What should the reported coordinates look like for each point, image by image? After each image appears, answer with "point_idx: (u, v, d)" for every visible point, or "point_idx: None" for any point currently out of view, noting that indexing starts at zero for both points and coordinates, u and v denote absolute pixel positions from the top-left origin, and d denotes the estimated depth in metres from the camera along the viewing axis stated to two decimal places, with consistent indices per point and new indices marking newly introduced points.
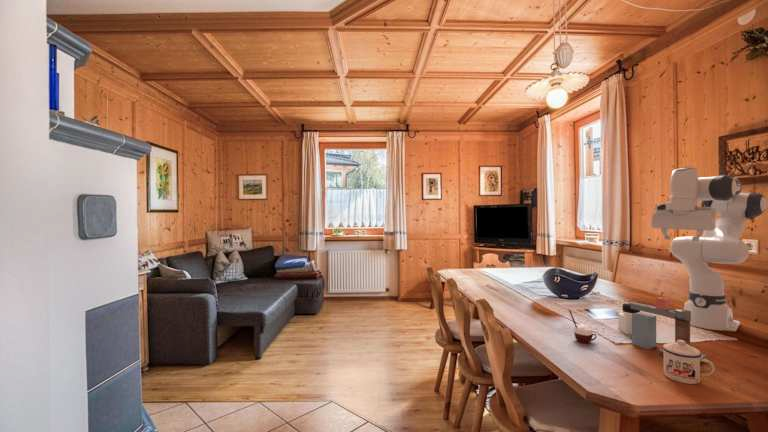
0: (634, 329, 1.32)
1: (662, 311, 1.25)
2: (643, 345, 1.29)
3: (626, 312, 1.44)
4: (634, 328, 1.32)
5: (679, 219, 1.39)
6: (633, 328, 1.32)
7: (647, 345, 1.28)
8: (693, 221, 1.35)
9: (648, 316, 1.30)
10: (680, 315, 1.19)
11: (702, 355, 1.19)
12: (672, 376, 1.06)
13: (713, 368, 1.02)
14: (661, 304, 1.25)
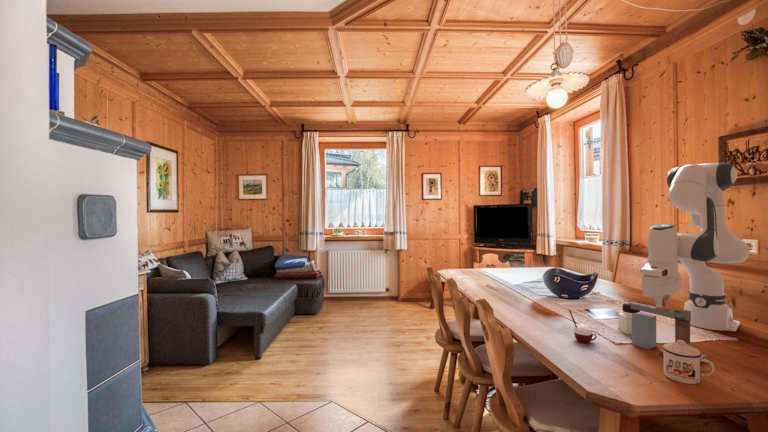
0: (634, 329, 1.32)
1: (662, 311, 1.25)
2: (643, 345, 1.29)
3: (626, 312, 1.44)
4: (634, 328, 1.32)
5: (667, 284, 1.24)
6: (633, 328, 1.32)
7: (647, 345, 1.28)
8: (674, 284, 1.26)
9: (648, 316, 1.30)
10: (680, 315, 1.19)
11: (702, 355, 1.19)
12: (672, 376, 1.06)
13: (713, 368, 1.02)
14: None
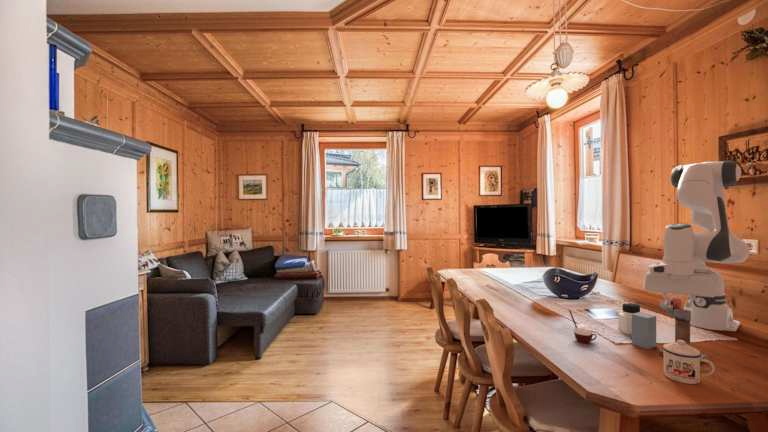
0: (634, 329, 1.32)
1: (670, 310, 1.26)
2: (643, 345, 1.29)
3: (626, 312, 1.44)
4: (634, 328, 1.32)
5: (678, 283, 1.24)
6: (633, 328, 1.32)
7: (647, 345, 1.28)
8: (695, 286, 1.22)
9: (648, 316, 1.30)
10: (675, 314, 1.21)
11: (702, 355, 1.19)
12: (672, 376, 1.06)
13: (713, 368, 1.02)
14: (671, 303, 1.26)
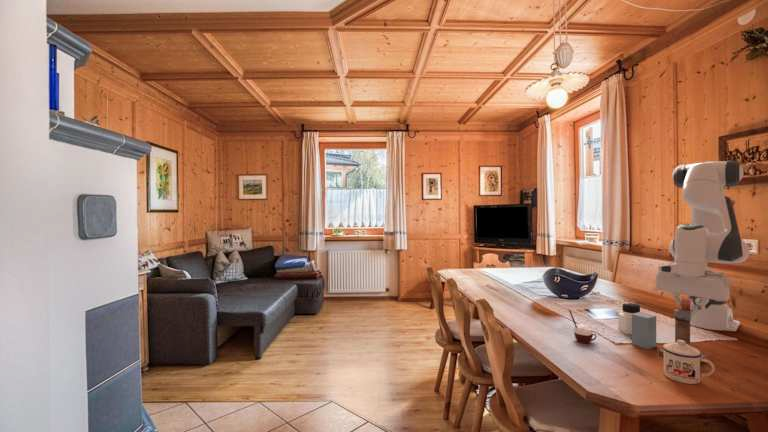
0: (634, 329, 1.32)
1: None
2: (643, 345, 1.29)
3: (626, 312, 1.44)
4: (634, 328, 1.32)
5: (687, 284, 1.23)
6: (633, 328, 1.32)
7: (647, 345, 1.28)
8: (703, 289, 1.19)
9: (648, 316, 1.30)
10: (674, 313, 1.22)
11: (702, 355, 1.19)
12: (672, 376, 1.06)
13: (713, 368, 1.02)
14: None
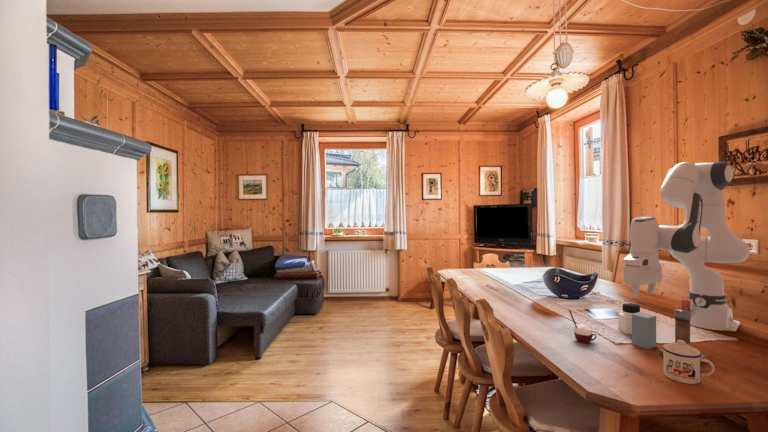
0: (634, 329, 1.32)
1: None
2: (643, 345, 1.29)
3: (626, 312, 1.44)
4: (634, 328, 1.32)
5: (648, 273, 1.29)
6: (633, 328, 1.32)
7: (647, 345, 1.28)
8: (655, 274, 1.31)
9: (648, 316, 1.30)
10: (674, 313, 1.22)
11: (702, 355, 1.19)
12: (672, 376, 1.06)
13: (713, 368, 1.02)
14: None
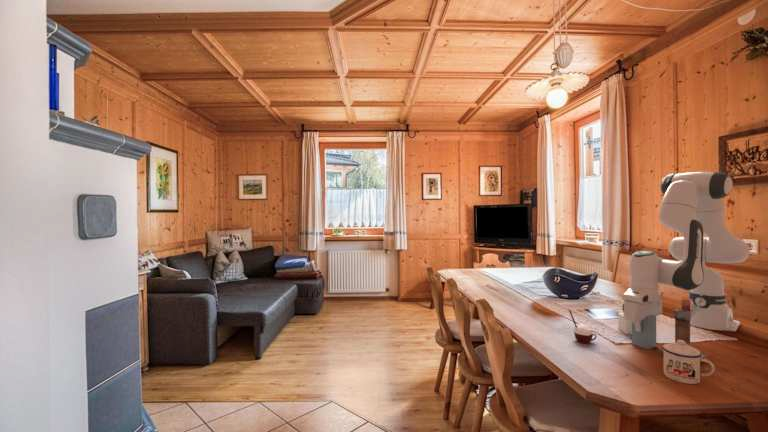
0: (634, 329, 1.32)
1: None
2: (643, 345, 1.29)
3: None
4: (634, 328, 1.32)
5: (648, 308, 1.30)
6: (633, 328, 1.32)
7: (647, 345, 1.28)
8: (655, 308, 1.32)
9: None
10: (674, 313, 1.22)
11: (702, 355, 1.19)
12: (672, 376, 1.06)
13: (713, 368, 1.02)
14: None
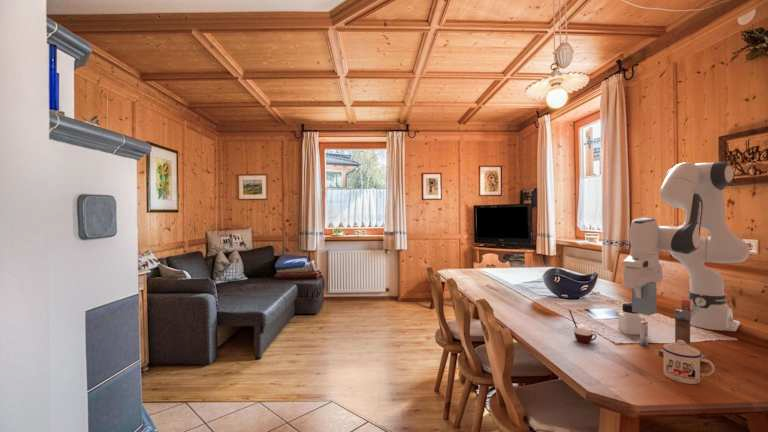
0: (634, 296, 1.32)
1: None
2: (643, 312, 1.29)
3: (626, 312, 1.44)
4: (634, 295, 1.32)
5: (648, 275, 1.29)
6: (633, 295, 1.32)
7: (647, 311, 1.28)
8: (655, 275, 1.31)
9: None
10: (674, 313, 1.22)
11: (702, 355, 1.19)
12: (672, 376, 1.06)
13: (713, 368, 1.02)
14: None
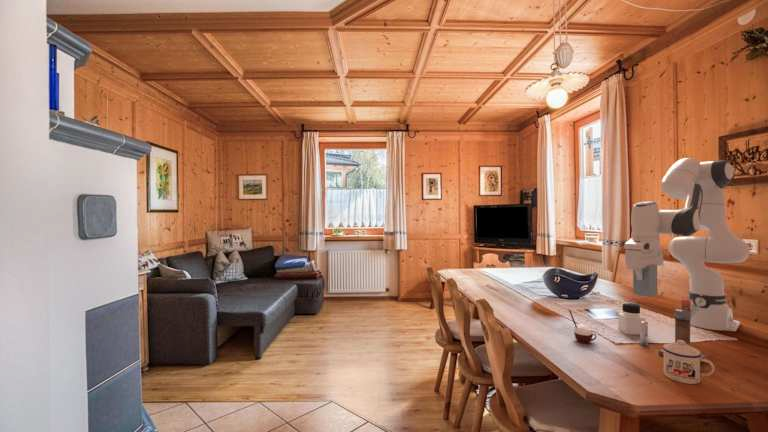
0: (635, 279, 1.34)
1: None
2: (644, 294, 1.31)
3: (626, 312, 1.44)
4: (635, 278, 1.34)
5: (649, 257, 1.31)
6: (634, 278, 1.34)
7: (648, 293, 1.30)
8: (656, 258, 1.33)
9: (649, 265, 1.31)
10: (674, 313, 1.22)
11: (702, 355, 1.19)
12: (672, 376, 1.06)
13: (713, 368, 1.02)
14: None
